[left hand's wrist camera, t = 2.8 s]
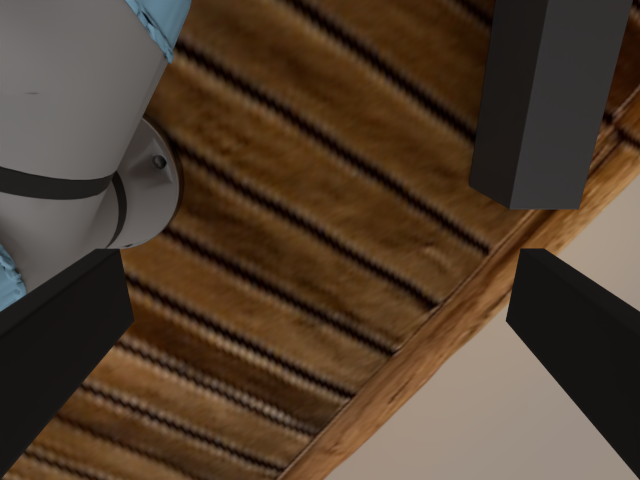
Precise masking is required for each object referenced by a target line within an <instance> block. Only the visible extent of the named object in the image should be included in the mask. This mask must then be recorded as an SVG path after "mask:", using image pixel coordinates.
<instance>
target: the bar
mask: <svg viewBox="0 0 640 480" xmlns="http://www.w3.org/2000/svg"><path fill="white" fill-rule="evenodd" d="M631 4H632V0H496V2H495V9H494V16H493V23H492V30H491V36H490V43H489V50H488V57H487V64H486V71H485V78H484V85H483V92H482V99H481V106H480V112H479V119H478V126H477V133H476V140H475V147H474V154H473V161H472V168H471V175H470V182H469V186H470V187H472V188H473V189H475V190H477V191H479V192H480V193H482V194H484V195H486V196H487V197H489V198H491V199H493V200H494V201H496V202H498V203H500V204H501V205H503V206H505V207H507V208H508V209H579V207H580V203H581V199H582V195H583V191H584V187H585V183H586V179H587V175H588V172H589V168H590V164H591V160H592V156H593V152H594V148H595V144H596V140H597V137H598V133H599V129H600V125H601V121H602V117H603V113H604V109H605V105H606V102H607V98H608V94H609V90H610V86H611V82H612V78H613V74H614V70H615V67H616V63H617V59H618V55H619V51H620V47H621V43H622V39H623V35H624V32H625V28H626V24H627V20H628V16H629V12H630V8H631Z"/></svg>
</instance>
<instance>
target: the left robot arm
mask: <svg viewBox="0 0 640 480" xmlns="http://www.w3.org/2000/svg"><path fill="white" fill-rule="evenodd" d="M191 1H192V0H0V480H1V478H2V477H3V476H4V475H5V474H6V472H7V471H8V470H9V469H10V468H11V467H12V465H13V464H14V463H15V462H16V461H17V459H18V458H19V457H20V456H21V455H22V453H23V452H24V451H25V450H26V449H27V448H28V446H29V445H30V444H31V443H32V442H33V440H34V439H35V438H36V437H37V436H38V434H39V433H40V432H41V431H42V430H43V429H44V427H45V426H46V425H47V424H48V423H49V421H50V420H51V419H52V418H53V417H54V416H55V414H56V413H57V412H58V411H59V410H60V408H61V407H62V406H63V405H64V404H65V402H66V401H67V400H68V399H69V398H70V397H71V395H72V394H73V393H74V392H75V391H76V389H77V388H78V387H79V386H80V385H81V384H82V382H83V381H84V380H85V379H86V378H87V376H88V375H89V374H90V373H91V372H92V370H93V369H94V368H95V367H96V366H97V365H98V363H99V362H100V361H101V360H102V359H103V357H104V356H105V355H106V354H107V353H108V351H109V350H110V349H111V348H112V347H113V346H114V344H115V343H116V342H117V341H118V340H119V338H120V337H121V336H122V335H123V334H124V333H125V331H126V330H127V329H128V328H129V327H130V325H131V324H132V323H133V322H134V317H133V312H132V307H131V303H130V298H129V293H128V288H127V283H126V278H125V274H124V269H123V264H122V259H121V254H120V249H125V248H131V247H135V246H138V245H141V244H143V243H146V242H147V241H149V240H151V239H152V238H154V237H155V236H157V235H158V234H159V233H160V232H161V231H163V230H164V229H165V228H166V227H167V226H168V225H169V224H170V223H171V222H172V220H173V219H174V217H175V216H176V214H177V212H178V210H179V208H180V205H181V202H182V198H183V192H184V177H183V170H182V166H181V162H180V160H179V157H178V154H177V152H176V150H175V148H174V146H173V144H172V142H171V141H170V139H169V138H168V136H167V135H166V134H165V132H164V131H163V130H162V129H161V128H160V127H159V126H158V125H157V124H156V123H155V122H154V121H153V120H152V119H151V118H150V117H149V116H147V115H146V114H144V112H145V110H146V108H147V106H148V104H149V102H150V100H151V97H152V95H153V93H154V91H155V89H156V87H157V85H158V83H159V81H160V79H161V77H162V75H163V73H164V71H165V68H166V66H167V64H168V63H170V64H171V63H172V61H173V59H174V53H173V49H174V46H175V44H176V41H177V39H178V36H179V34H180V31H181V29H182V26H183V24H184V22H185V19H186V17H187V14H188V12H189V9H190V6H191ZM506 322H507V323H508V324H509V325H510V327H511V328H512V329H513V330H514V331H515V333H516V334H517V335H518V336H519V337H520V338H521V340H522V341H523V342H524V343H525V344H526V346H527V347H528V348H529V349H530V350H531V351H532V353H533V354H534V355H535V356H536V357H537V359H538V360H539V361H540V362H541V363H542V365H543V366H544V367H545V368H546V369H547V370H548V372H549V373H550V374H551V375H552V376H553V378H554V379H555V380H556V381H557V382H558V384H559V385H560V386H561V387H562V388H563V389H564V391H565V392H566V393H567V394H568V395H569V396H570V398H571V399H572V400H573V401H574V402H575V404H576V405H577V406H578V407H579V408H580V410H581V411H582V412H583V413H584V414H585V416H586V417H587V418H588V419H589V420H590V421H591V423H592V424H593V425H594V426H595V427H596V429H597V430H598V431H599V432H600V433H601V434H602V436H603V437H604V438H605V439H606V440H607V442H608V443H609V444H610V445H611V446H612V448H613V449H614V450H615V451H616V452H617V453H618V455H619V456H620V457H621V458H622V459H623V461H624V462H625V463H626V464H627V465H628V466H629V468H630V469H631V470H632V471H633V472H634V474H635V475H636V476H637V477H638V478H639V480H640V312H639V311H638V310H636V309H635V308H633V307H632V306H630V305H629V304H627V303H626V302H624V301H623V300H621V299H620V298H618V297H617V296H615V295H614V294H612V293H611V292H609V291H608V290H606V289H605V288H603V287H602V286H600V285H599V284H597V283H596V282H594V281H593V280H591V279H590V278H588V277H586V276H585V275H583V274H582V273H580V272H579V271H577V270H576V269H574V268H573V267H571V266H570V265H568V264H567V263H565V262H564V261H562V260H561V259H559V258H558V257H556V256H555V255H553V254H552V253H550V252H549V251H547V250H546V249H520V254H519V259H518V264H517V269H516V274H515V278H514V283H513V288H512V293H511V298H510V303H509V307H508V312H507V317H506Z"/></svg>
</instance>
